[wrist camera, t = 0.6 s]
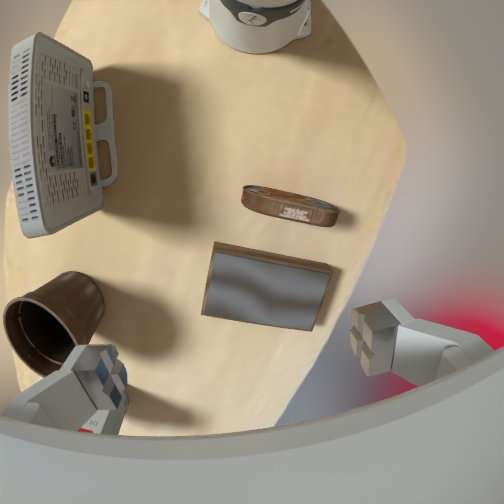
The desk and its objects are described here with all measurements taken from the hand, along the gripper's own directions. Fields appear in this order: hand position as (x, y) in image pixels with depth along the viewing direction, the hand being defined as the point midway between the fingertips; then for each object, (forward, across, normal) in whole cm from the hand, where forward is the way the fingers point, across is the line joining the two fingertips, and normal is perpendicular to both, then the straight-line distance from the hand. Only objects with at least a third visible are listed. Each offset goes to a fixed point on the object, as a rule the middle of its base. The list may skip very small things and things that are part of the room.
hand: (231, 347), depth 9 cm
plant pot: (+40, +33, +14) cm, 54 cm away
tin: (+40, -9, +3) cm, 41 cm away
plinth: (+40, -3, +17) cm, 43 cm away
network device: (+40, +22, -15) cm, 48 cm away
